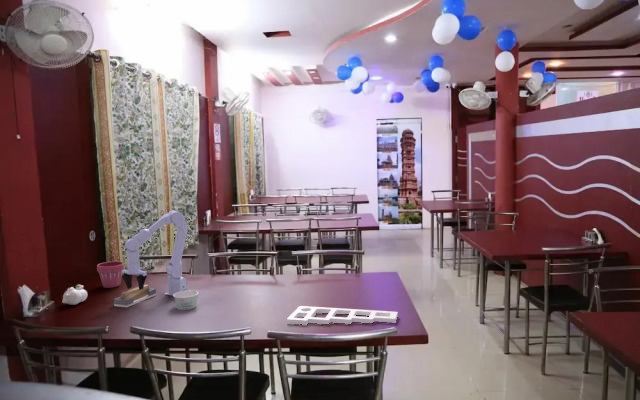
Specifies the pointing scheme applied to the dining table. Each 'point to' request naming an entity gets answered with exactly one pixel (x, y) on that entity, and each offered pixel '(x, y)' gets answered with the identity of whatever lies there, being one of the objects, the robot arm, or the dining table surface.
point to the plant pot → (110, 273)
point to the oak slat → (135, 293)
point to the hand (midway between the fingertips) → (135, 288)
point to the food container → (186, 299)
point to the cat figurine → (74, 295)
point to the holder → (311, 312)
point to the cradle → (129, 301)
